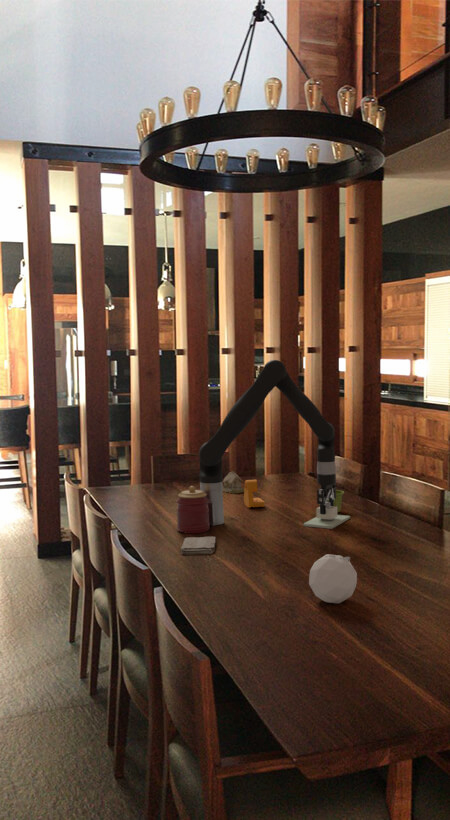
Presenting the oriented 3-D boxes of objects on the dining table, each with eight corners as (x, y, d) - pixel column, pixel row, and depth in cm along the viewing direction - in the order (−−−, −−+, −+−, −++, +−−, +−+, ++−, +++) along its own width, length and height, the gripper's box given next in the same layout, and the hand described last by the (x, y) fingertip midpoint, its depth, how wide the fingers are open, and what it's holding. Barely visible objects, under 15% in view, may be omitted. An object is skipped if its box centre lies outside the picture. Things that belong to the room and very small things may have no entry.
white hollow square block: (331, 519, 305) (331, 509, 304) (316, 518, 308) (316, 508, 308) (337, 516, 310) (337, 506, 310) (322, 514, 313) (322, 505, 313)
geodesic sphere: (364, 572, 220) (335, 536, 219) (375, 587, 206) (344, 548, 205) (325, 603, 220) (296, 567, 219) (334, 620, 207) (302, 582, 206)
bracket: (265, 508, 340) (264, 481, 339) (249, 509, 339) (248, 482, 338) (259, 503, 351) (258, 477, 350) (244, 504, 349) (243, 478, 348)
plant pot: (343, 509, 332) (343, 489, 332) (344, 514, 323) (344, 493, 322) (321, 509, 333) (321, 489, 333) (322, 514, 324) (322, 494, 323)
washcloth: (180, 556, 266) (180, 547, 266) (183, 543, 284) (183, 535, 284) (214, 555, 266) (214, 546, 266) (216, 542, 284) (215, 534, 283)
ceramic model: (217, 490, 387) (217, 470, 386) (237, 487, 392) (237, 468, 391) (229, 494, 374) (229, 474, 373) (250, 492, 379) (249, 472, 378)
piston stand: (331, 528, 298) (331, 508, 297) (303, 526, 304) (303, 506, 303) (350, 518, 315) (349, 499, 314) (322, 515, 321) (322, 496, 320)
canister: (205, 534, 294) (204, 489, 293) (173, 533, 297) (171, 488, 296) (213, 526, 307) (211, 483, 306) (181, 526, 310) (180, 482, 308)
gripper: (328, 475, 300) (329, 516, 301) (341, 470, 312) (342, 509, 313) (310, 474, 303) (311, 514, 305) (324, 469, 316) (325, 507, 317)
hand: (327, 512), depth 309 cm, fingers open, 8 cm apart
